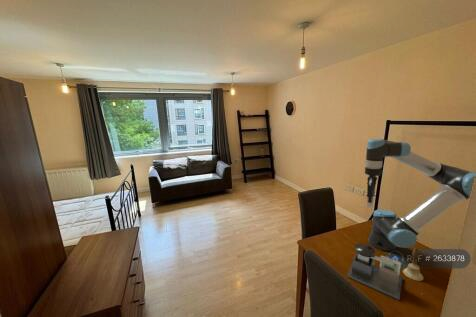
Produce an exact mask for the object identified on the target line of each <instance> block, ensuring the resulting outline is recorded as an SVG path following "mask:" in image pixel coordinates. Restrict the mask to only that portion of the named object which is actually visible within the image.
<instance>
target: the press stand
mask: <svg viewBox="0 0 476 317" xmlns="http://www.w3.org/2000/svg"><path fill="white" fill-rule="evenodd" d="M355 252H356V251H355ZM380 258H383V259H386V260H388V261H391V262H394V266H391V265H388V264H386V263H383V262H380V261H379V266H377V265H375V261H376V260H375V259H372V258H370V264H369V265H366V264H364V263H361V262H359V261H357V259H358V253H357V252H356V253H355V255H354V256H353V259H352V262H351V265H350V266H349V270H348V272H347V273H346V277H347V278H349V279H352V280H354V281H355V282H358V283H360V284H362V285H365V286H367V287H369V288H371V289H373V290H376V291H378V292H381V293H382V294H384V295H387V296H389V297H391V298H392V299H395V300H397V301H400V298H401V293H402V292H401V291H402V284H403V283H402V282H403V275H400V271H401V266H402V262H401V261H398V260H395V259H392V258H390V257H387V256H384V255H382V254H381V255H380ZM384 265H386V266H389V267H391V268H394V269H395V270H394V271H392V270H389V269H387V268H384Z"/></svg>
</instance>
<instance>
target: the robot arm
mask: <svg viewBox="0 0 476 317" xmlns="http://www.w3.org/2000/svg"><path fill="white" fill-rule="evenodd" d="M411 150H412V149H411V144H410V143H408V142H404V141H403V142H402V141H400V142H398V141H391V140H387V139H384V138H370V139H368V140H367V144H366V153H365V154H366V156H365V160H364V163H365V167H364V174H365V175H368V177H367V178H366V179H367V182H366V184H367V189H366V190H367V191H366V195H365V197H367V200H366V207H367V208H371V209H373V207H374V199H375V198H374V197H376V194H375V193H376V185H377V180H378V176H379V177H380V176H382V168H383V162H384V161H383V160H384V159H383V158H389V157H390V158H392V159H394V160H395V161H398V162H401V163H403V164H405V165H407V166H409V167H412V168H413V169H415V170H417V171H420V172H422V173H423V174H424V176H426V177H428V178H430V179H432V180H433V181H435V182H436V183H437V182H438V183H439V184H440V188H439V189H438V190H437V191H436V192H435V193H433V194H432V195H431V196H429V197H428V198H427V199H425V200H424V201H423V202H421V203H420V204H419V205H417V206H415V208H414V209H413V210H411V211H409V212H408V213H407V214H406V215H404V216H398V215H397V213H396V212H394V211H392V210H387V209H376V210H374V211H373V215H372V227H371V231H370V233H369V235H368V237H367V242H368V243H369V245H370V246H371V247H374V248H375V249H378V250H381V251H385V252H393V251H395V250H396V249H397V247H398V248H400V249H401V248H404V249H405V248H411V247H413V246H414V245H415V244H416V243H417V240H418V237H417V236H418V235H419V234H420V230H421V229H422V228H423V227H425V226H426V225H427V224H429V223H430V222H432V221H433V220H434V219H436V218H438V216H440V215H441V214H443V213H444V212H445V211H447V210H449V208H451V207H453V206H454V205H455V204H457V203H458V202H459V201H463V202H465V201H467V200H469V199H471V197H470V194H471V191H472V186H473V183H474V178H476V177H475V175H476V172H474V171H470V170H466V169H463V168H459V167H456V166H455V167H454V166H451V165H447V164H444V163H441V162H439V161H432V160H430V159H428V158H426V157H423V156H421V155H419V154H417V153H415V152H413V151H411Z"/></svg>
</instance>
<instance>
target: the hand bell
mask: <svg viewBox="0 0 476 317" xmlns="http://www.w3.org/2000/svg"><path fill="white" fill-rule="evenodd" d="M411 255H412V256H411V257H412V263H411V262H410V263H408V264H407V267H406V268H403V269H402V274H404V276H406V277H407V278H409V279H410V280H414V281H416V282H417V281H418V282H420V281H423V280H424V276H423V274H422V273H421V270H420V266H419V265H418V264H417V262H418V259H419V257H420V252H419V248H418V247H414V248H413V250H412V254H411Z"/></svg>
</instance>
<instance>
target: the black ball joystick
mask: <svg viewBox="0 0 476 317" xmlns="http://www.w3.org/2000/svg"><path fill="white" fill-rule="evenodd" d="M354 250H355V252H357V253H358V259H357V261H359V262H361V263H364V264H366V265H369V264H370V258H372V259H375V261H378V262H379V263H380V262H383V263H386V264H388V265H391V266H394V262H391V261H388V260H386V259H383V258H381V256H377V255H375V254H376V251H375V249H374V248H373V246H372V245H370V244H369V245H368V244H365V243H357V244H355V245H354Z"/></svg>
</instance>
